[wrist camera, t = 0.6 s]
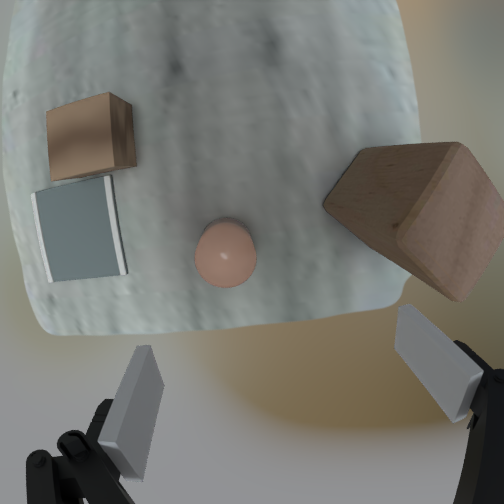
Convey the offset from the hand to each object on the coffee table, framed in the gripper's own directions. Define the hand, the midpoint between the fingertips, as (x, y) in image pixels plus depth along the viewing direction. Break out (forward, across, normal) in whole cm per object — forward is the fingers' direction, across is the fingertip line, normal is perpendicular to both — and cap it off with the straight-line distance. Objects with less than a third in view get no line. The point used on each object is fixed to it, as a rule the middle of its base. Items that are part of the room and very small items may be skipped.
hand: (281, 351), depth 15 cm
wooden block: (+25, +16, +3) cm, 30 cm away
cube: (+25, -17, +15) cm, 34 cm away
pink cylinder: (+25, -3, 0) cm, 25 cm away
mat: (+25, -23, +4) cm, 34 cm away
